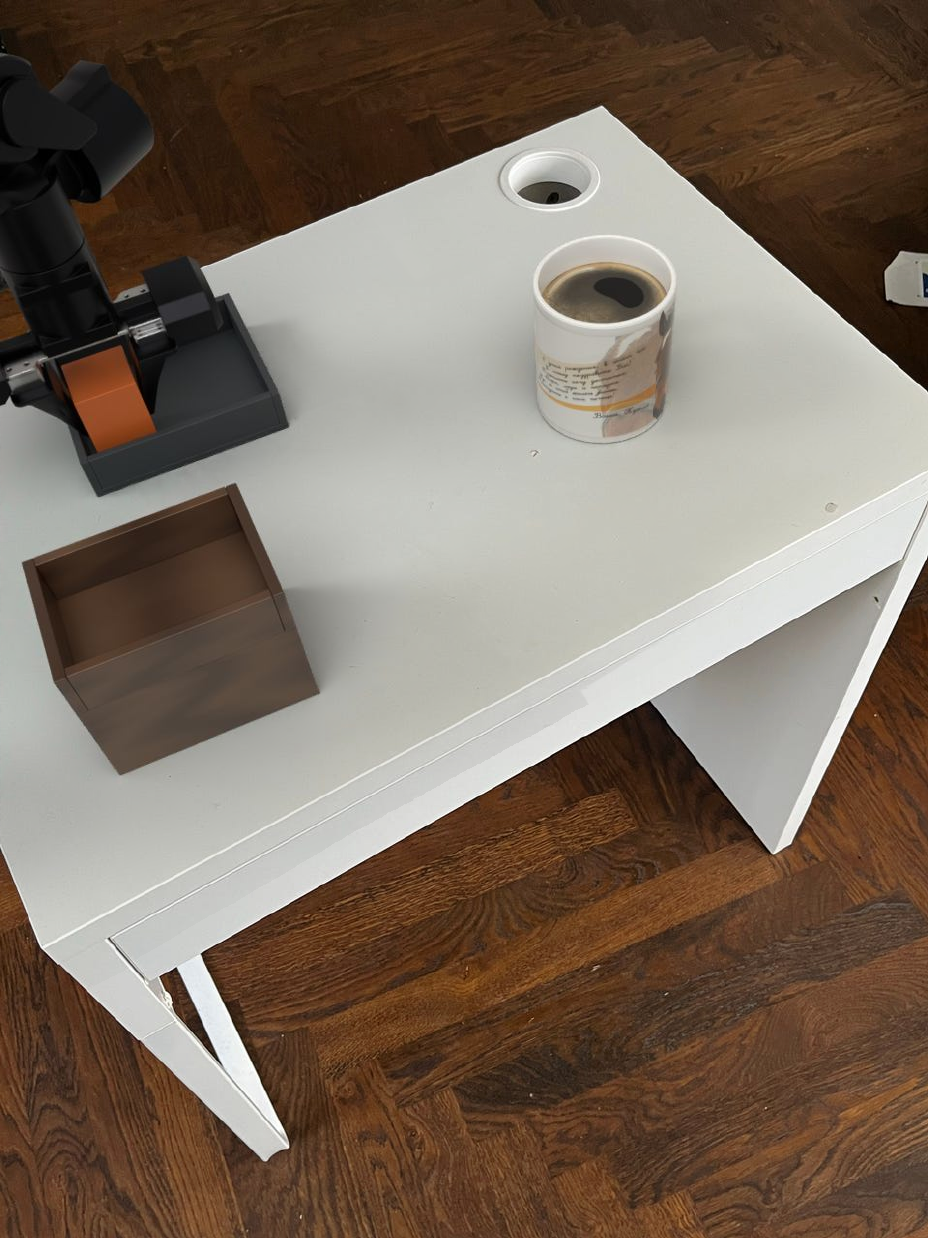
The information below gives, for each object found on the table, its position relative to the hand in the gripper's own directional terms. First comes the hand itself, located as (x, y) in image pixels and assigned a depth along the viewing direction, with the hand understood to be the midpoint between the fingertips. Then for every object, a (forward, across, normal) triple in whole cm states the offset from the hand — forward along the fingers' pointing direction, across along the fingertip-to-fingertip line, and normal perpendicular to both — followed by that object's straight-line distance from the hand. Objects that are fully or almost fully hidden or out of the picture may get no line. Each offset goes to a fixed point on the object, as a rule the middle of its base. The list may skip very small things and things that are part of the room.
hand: (120, 421), depth 86 cm
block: (+1, 0, 0) cm, 1 cm away
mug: (+3, -35, +12) cm, 37 cm away
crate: (+3, +1, +23) cm, 23 cm away
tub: (+3, -4, -3) cm, 6 cm away
